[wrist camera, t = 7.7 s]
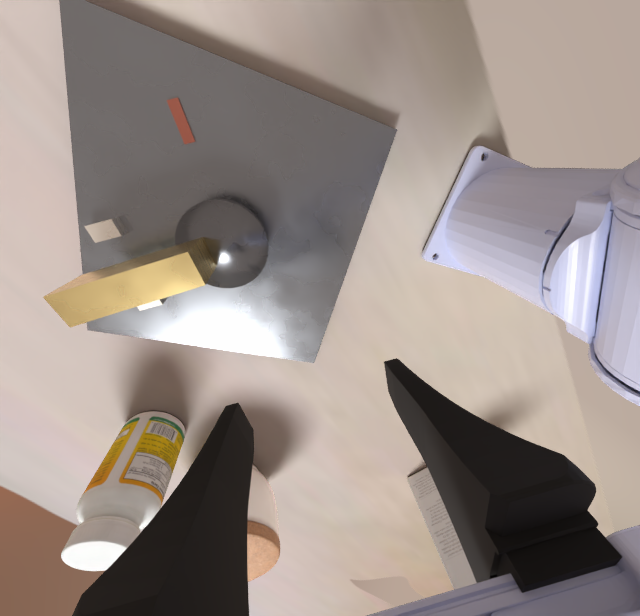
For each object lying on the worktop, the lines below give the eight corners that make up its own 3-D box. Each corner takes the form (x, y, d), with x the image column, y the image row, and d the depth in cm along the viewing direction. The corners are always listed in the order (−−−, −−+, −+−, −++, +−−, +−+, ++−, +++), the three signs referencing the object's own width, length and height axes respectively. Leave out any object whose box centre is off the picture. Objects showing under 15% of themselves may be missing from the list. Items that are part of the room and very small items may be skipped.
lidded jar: (295, 456, 31) (302, 563, 22) (255, 507, 34) (249, 615, 26) (200, 435, 27) (168, 554, 19) (167, 495, 31) (128, 615, 22)
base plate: (392, 131, 17) (406, 126, 15) (312, 357, 24) (315, 373, 22) (70, -1, 12) (34, -30, 11) (94, 324, 20) (75, 340, 18)
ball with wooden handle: (249, 186, 15) (241, 193, 12) (280, 269, 18) (280, 294, 14) (70, 242, 15) (13, 264, 12) (126, 317, 18) (92, 352, 14)
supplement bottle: (181, 406, 25) (132, 530, 16) (190, 444, 27) (153, 568, 19) (116, 411, 24) (31, 543, 16) (132, 449, 27) (66, 581, 18)
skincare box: (418, 489, 38) (472, 612, 28) (405, 477, 36) (458, 605, 26) (457, 469, 37) (528, 589, 26) (445, 455, 35) (518, 579, 25)
